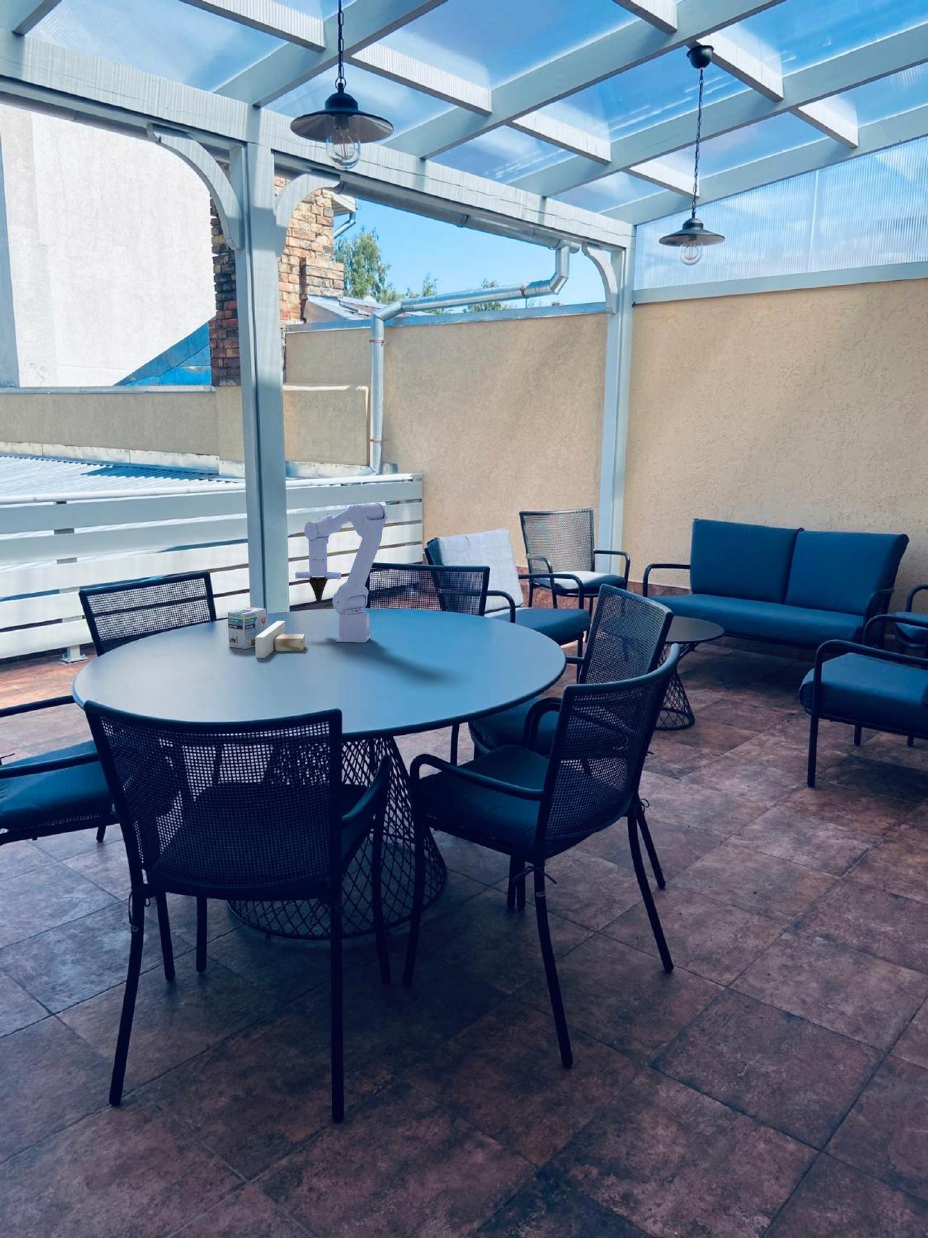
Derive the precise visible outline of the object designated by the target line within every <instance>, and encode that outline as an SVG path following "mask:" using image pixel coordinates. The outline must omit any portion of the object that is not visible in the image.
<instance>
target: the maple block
mask: <svg viewBox="0 0 928 1238" xmlns="http://www.w3.org/2000/svg"><path fill="white" fill-rule="evenodd" d="M275 647H276V649H275V652H303V651H304V649H305V648H306V635H305V633H301V634H300V633H289V634H288V633H287V634H278V635H277V637H276V638H275ZM289 650H290V651H289Z"/></svg>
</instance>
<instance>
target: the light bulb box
mask: <svg viewBox="0 0 928 1238" xmlns="http://www.w3.org/2000/svg"><path fill="white" fill-rule="evenodd" d="M267 623H268V621H267V609H266V608H262V607H261V608H260V607H254V606H248V607H245V608H240V609H237V610H231V611H228V612H227V625H228V626H227V627H228V628H227V629H228V634H227V635H228V648H237V649H244V650H247V649H250V648H253V647H254V648H255V637H256V636H258V635H259V634H260V633H262V632H263V631H264V630H266V629H267V628H268V625H267Z"/></svg>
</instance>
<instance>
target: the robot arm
mask: <svg viewBox="0 0 928 1238" xmlns="http://www.w3.org/2000/svg"><path fill="white" fill-rule="evenodd" d="M387 519H388V516H387V513H386V509H385V507H384V505H382V504H381V503H379V502H378V503H377V502H376V503H369V504H367V503H366V504H359V503H358V504H357V503H356V504H353V505H349V506H348V508H346V509H344V510H343V511H340V512H339V513H338V514H336V513H333V512H327V513H325V516H323V517H319V518H317V520H316V521H307V522H306V524H305V525H304V528H303V529H304V536H305V537H306V539H307V540H308V568H309V569H308V571H295V573H294V575H295V579H298V580H299V579H308V582H309V585H310V587H311V589H312V591H313V594H314V598H315V602H322V601H323V600H322V599H323V594H324V591H325V587H326V585H327V583H328V581H329V580H342V572H333V571H328V548H327V547H328V544H329V538H330V536H331V535H332V534H335V533H337V532H340V530H341V529H342V527H343V525H345V524H348V523H351V525H352V526H353V528H354V530H355V532H356V533H357V535H358V536H359V537H361V541H360V544H359V547H358V550H357V551H356V555H355V557H354V561H353V563H352V567H351V569H350V572H349V574H348V577H347V581H345V582H344V583H342V584H341V585H340V586H339V587H338V589H337V590H336V592H335V593H334V594H333V597H332V605H333V606H332V607H333V609H334V610H335V611H336V613H337V614H338V637H337V638H336V639H335V643H367V642H368V640H369V639H370V638H371V634H370V633H371V632H370V631H371V630H370V614H369V612H365V611H364V610H365V608H366V607H367V604H368V595H369V590H368V587H366V586H365V585H366V582H367V580H368V577H369V574H370V572H371V569H372V567H373V564H374V561H375V558H376V556H377V553H378V551H379V548H380V545H381V542H382V539H383V538H382V537H383V530H384V528H385V524H386V521H387Z"/></svg>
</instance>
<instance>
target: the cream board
mask: <svg viewBox="0 0 928 1238" xmlns="http://www.w3.org/2000/svg"><path fill="white" fill-rule="evenodd" d="M278 634H286V620H276V621H274V623H272V624H271V625H269V626H267V629H266V630H264V631H263V632H262V633H260V634H259V635H258V636H256V637H255V646H254V648H255V658H256V659H265V658H266V657H268V656H269V655H270V654H271V653H272V652H273V651H274V650H276V647H275V638H276V637H277V635H278ZM269 653H270V654H269Z"/></svg>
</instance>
